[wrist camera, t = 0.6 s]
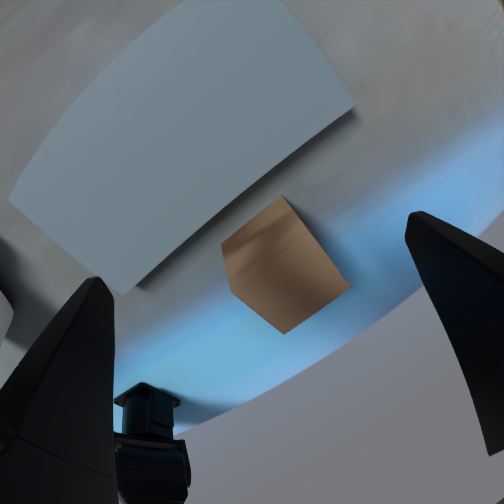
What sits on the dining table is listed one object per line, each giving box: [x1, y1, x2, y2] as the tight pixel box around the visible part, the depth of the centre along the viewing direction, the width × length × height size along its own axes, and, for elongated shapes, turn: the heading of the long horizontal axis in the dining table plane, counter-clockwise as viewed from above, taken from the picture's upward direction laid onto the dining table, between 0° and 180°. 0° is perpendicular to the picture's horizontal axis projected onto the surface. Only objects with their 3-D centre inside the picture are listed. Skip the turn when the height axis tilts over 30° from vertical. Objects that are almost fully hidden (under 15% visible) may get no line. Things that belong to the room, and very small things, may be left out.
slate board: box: [8, 0, 357, 296], centre depth 17 cm, size 22×12×2 cm, turn 128°
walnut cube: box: [221, 195, 351, 334], centre depth 22 cm, size 6×6×6 cm
